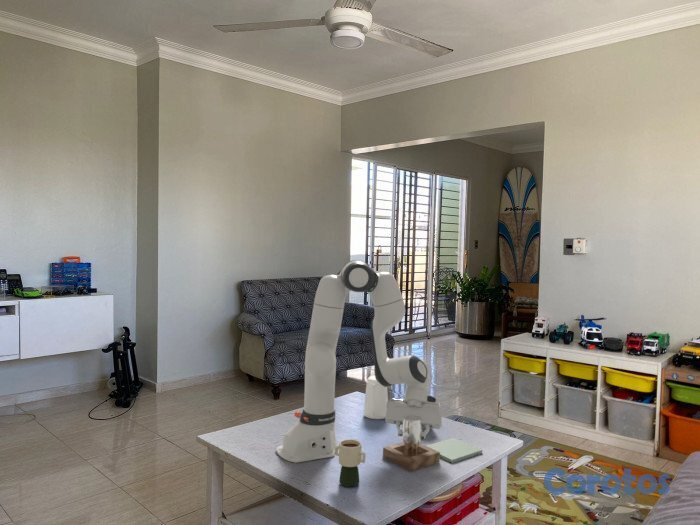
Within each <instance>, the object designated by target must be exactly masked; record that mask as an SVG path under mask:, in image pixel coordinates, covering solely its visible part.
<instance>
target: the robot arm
mask: <svg viewBox="0 0 700 525" xmlns="http://www.w3.org/2000/svg"><path fill="white" fill-rule="evenodd" d="M399 286H400V285H399V283H398V282H397V280H396V278H395V276H394V275H393V274H392V273H391V272H388V271H380V272H376V271H374V270H373V269H372V267H370V266H369V265H368V263H366V262H365V261H363V260H360V259H353V260H350V261H348V262H347V263H345V264H344V266H342V268H341V269H340V270H339V272H338V273H337V274H328V275H324V276H322V277H321V279H320V281H319V283H318V285H317V289H316V292H315V295H314V299H313V307H312V314H311V319H310V324H309V326H310V327H309V331H308V338H307V343H306V349H305V355H304V391H303V392H304V395H303V396H304V399H303V409H302V412H300V411H299V410H296V411H294V413H293V416H294V417H296V418H297V419H299V420H298V421H297V422H296V423H295V424H294V425H293V426H292V427H291V428H290V429H289V430H288V431H286V432H285V434H284V435H283V442H282V444H280V445H279V446H277V447H276V454H277V455H278V456H279V457H281V458H282V459H284V460H285V461H288V462H291V463H295V464H297V463H302V462H308V461H315V460H320V459H327V458H333V457H335V456H336V455H335V447H336V445H338V444H337V439H336V430H335V423H336V422H335V421H336V409H335V395H336V394H335V393H336V392H335V390H336V389H335V388H336V375H337V374H336V373H337V356H336V351H337V345H338V340H339V337H340V334H341V327H342V322H343V316H344V309H345V302H346V298H347V296H348V294H349V293H350V292H351V291H352V292H354V293H368V294H369V296H370V298H371V302H372V304H373V309H374V315H373V319H372V320H371V321H370V336H371V337H370V338H371V344H372V345H371V346H372V354H373V360H374V361H373V362H374V364H373V365H374V376H375V378H376V380H377V381H378V382H379V383H380V384H381V385H383V386H384V387H387V388H388V387H391V386H396V385H402V384H405V385H406V387H405V388H404V395H403V399H402V398H399V399H398V398H397V399H396V398H391V399H388V402H387V411H386V415H385V418H384V419H385V421H386V423H387V424H388V425H389V424H391V425H395V427H396V430H397V436H398V437H402V429H401V426H402V422H403V416H405V415H417V416H420V417H421V418H422V427H425V429H426V430H423V431H422V433H421V434H422V435H421V440H422V439H423V440H426V437H427V435H428V433H429V432H430V430H431V429H434V430H435V429H437V430H440V429H441V428H442V427H443V416H442V409H441V403H440V400H439V398H438V397H435V396H432V395H430V394H429V387H430V384H431V369H430V364H429V363H428V362H427V361H426V360H425V359H422V358H420V357H418V356H416V355H413V354H412V355H405V356H400V357H394V358H390V357H389V356H388V353H387V344H386V334H387V332H388V331H390V329H392V328H394V327H396V326H397V325H398V324H400V322H402V320H403V319H404V317H405V314H406V306H405V301H404V298H403V294H402V292H401V289H400V287H399ZM406 419H407V420H412V421H416V420H419V419H418V418H417V417H415V416H410V417H408V418H406ZM430 428H431V429H430Z"/></svg>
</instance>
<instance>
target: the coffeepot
mask: <svg viewBox="0 0 700 525" xmlns="http://www.w3.org/2000/svg"><path fill="white" fill-rule="evenodd" d="M365 382H366V386H365V394H364V402H363V403H364V404H363V405H364V406H363V416H364V417H365V418H367V419H370V420H383V419H385V415H386V411H387V402H388V401H389V399H388V398H389V397H388V396H389V395H388V387H384V386H383V385H381V384H380V383H379V382H378V381H377V380H376V378H375V375H371V376H368V378H367V379H366V380H365Z"/></svg>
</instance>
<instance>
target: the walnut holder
mask: <svg viewBox="0 0 700 525" xmlns="http://www.w3.org/2000/svg"><path fill="white" fill-rule="evenodd" d="M403 452H404V445H403V441H402V442H398V443H394V444H391V445H387V446H383V447H382V458H384V459H385V460H387V461H389V462H391V463H393V464H395V465H396V464H397V465H396V466H398V467H401V468H402V469H403V470H406V471H407V472H409V473H410V472H414V471H416V470H417V471H418V470H420V469H423V468H425V467H428V466H432V465H436V464H438V463H440V460H441V458H440V452H438V451H436V450H434V449H432V448H430V447H427V445H425V444H423V443H421V442H420V445H419V455H416V456H413V457H409V456H407V455H405V454H403Z"/></svg>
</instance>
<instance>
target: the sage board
mask: <svg viewBox="0 0 700 525" xmlns="http://www.w3.org/2000/svg"><path fill="white" fill-rule="evenodd" d="M426 446H427V447H430V448H432V449H434V450H436V451H438V452H440V459H442V460H444V461H447V462H448V463H450V462H451V464H454V463H458V462H459V461H463V460H465V459H469V458H472V457H474V455H475V456H478V455H481V454H483V449H481V448H479V447H477V446H474V445H472V444H469V443H467V442H465V441H463V440H460V439H458V438H455V437H451V438H448V439H444V440H442V441H438V442H435V443H431V444H428V445H427V444H426ZM480 453H481V454H480ZM477 454H478V455H477ZM471 456H472V457H471ZM468 457H469V458H468Z"/></svg>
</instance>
